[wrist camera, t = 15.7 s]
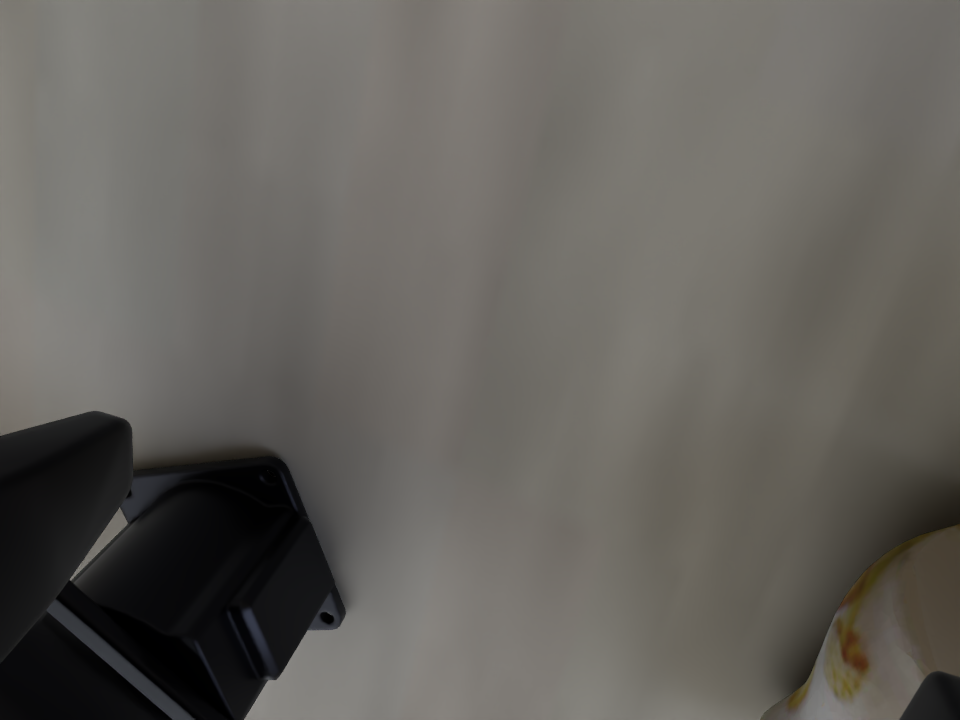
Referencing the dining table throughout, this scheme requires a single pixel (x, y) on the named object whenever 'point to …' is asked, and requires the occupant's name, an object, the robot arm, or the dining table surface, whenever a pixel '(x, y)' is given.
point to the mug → (886, 635)
